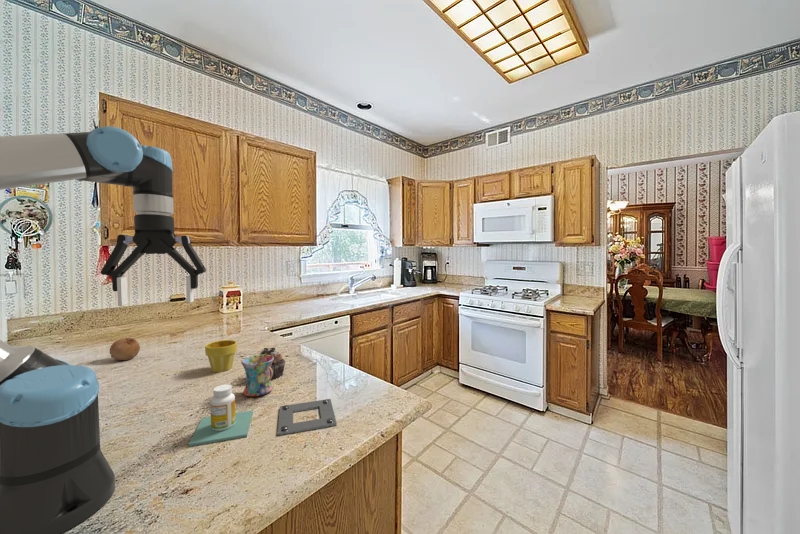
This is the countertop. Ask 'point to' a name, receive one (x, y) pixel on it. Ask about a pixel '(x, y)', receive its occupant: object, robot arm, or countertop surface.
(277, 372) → the cupcake
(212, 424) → the supplement bottle
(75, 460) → the robot arm
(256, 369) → the mug
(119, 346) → the brown oval lump
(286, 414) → the flange plate
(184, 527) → the countertop surface
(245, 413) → the mat
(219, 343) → the plant pot
